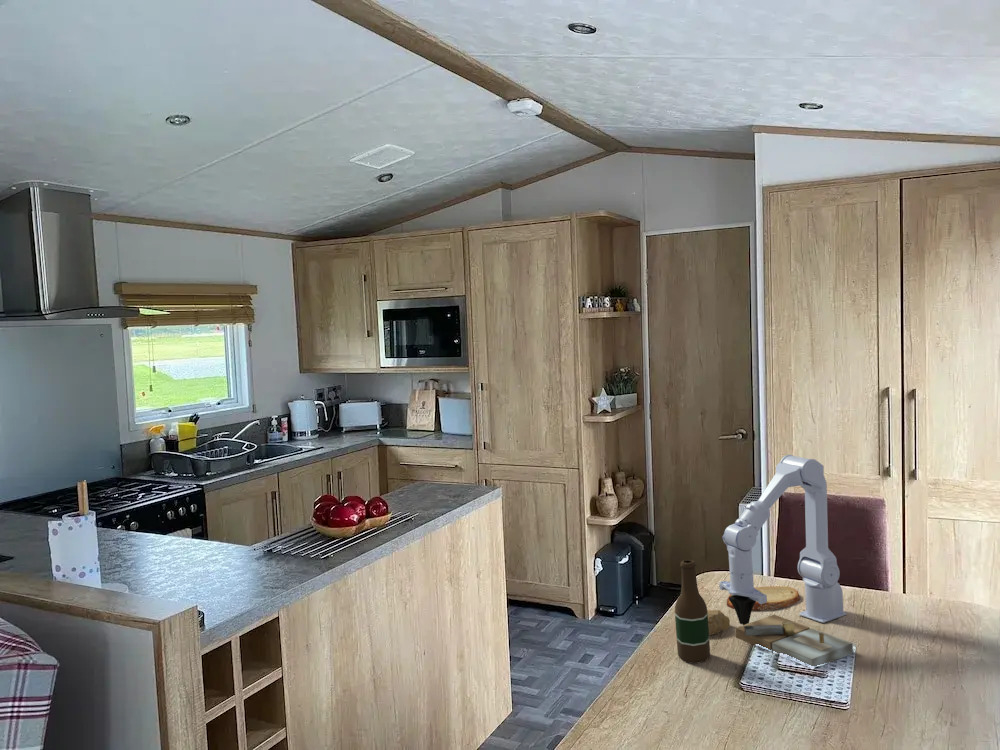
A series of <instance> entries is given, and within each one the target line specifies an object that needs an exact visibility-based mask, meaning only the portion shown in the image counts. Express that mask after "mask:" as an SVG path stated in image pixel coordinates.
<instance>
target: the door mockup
mask: <svg viewBox="0 0 1000 750" xmlns="http://www.w3.org/2000/svg"><path fill="white" fill-rule="evenodd" d="M785 621H789V622H793V623H794V633H795V634H794V635H793V636H786V635H783V634H771V635H746V634H745V632H744V626H759V625H782V622H785ZM735 638H736V639H739V640H741V641H743V642H745V643H748V644H751V645H752V646H755V644H759V645H761V646H763V647H766V648H768V649H770V650H771V649H772V651H775V652H777V653H783V654H787V655H789V656H791V657H794V658H796V659H798V660H800V661H802V662H804V663H807V664H809V665H811V666H817V665H820V664H824V663H828V664H830V663H832V661H833V662H835V661H838V660H840V659H842V658H845V657H848V656H850V655H852V654H854V648H853V642H852V641H851V642H850V641H847V640H845V639H842V638H840V637H836V636H833V635H832V634H828V633H826V632H823V631H820V630H817V629H815V628H812V627H809V626H807V625H804V624H802V623H801V624H800V623H798V622H796V621H793V620H789V619H787V618H785V617H782V616H779V615H776V614H772V615H768V616H766V617H763V618H761V619H758V620H755V621H752V622H751V621H750V622H749V623H748V624H745V625H740V626H737V627H735ZM829 662H830V663H829Z"/></svg>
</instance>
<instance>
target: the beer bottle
mask: <svg viewBox="0 0 1000 750" xmlns="http://www.w3.org/2000/svg"><path fill="white" fill-rule="evenodd" d="M696 566H697V564H696V561H695V560H692V559H684V560H682V561H680V565H679V567H681V588H680V589H681V590H680V594H679V595H678V598H677V599H676V603H675V604H674V619H675V633H676V634H675V635H676V647H677V648H676V649H677V656H678V657H679V659H681V660H682V661H683V662H684V661H686V662H685V663H690V662H691V664H698V663H699V662H700V663H704V662H706V661H708V660H709V658H710V656H711V645H710V642H711V641H710V636H709V627H708V612H707V610H708V607H707V604H706V602H705V599H704V598H703V597H702V595H701V593H700V592H699V588H698V581H697V575H696V574H697V573H696Z"/></svg>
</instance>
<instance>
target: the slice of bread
mask: <svg viewBox="0 0 1000 750" xmlns="http://www.w3.org/2000/svg"><path fill="white" fill-rule="evenodd" d="M754 588H755V589H757V590H758V591H760V592H761V593H763V594H765V595H767V603H764V604H759V602H757V601H756V602H755V604H754V606H753V609H752V612H762V611H772V610H778V609H781V608H787V607H790V606H792V605H795V604H797V603H798V602H799V601H801V597H800V593H799V591H797V590H796V589H795V588H793V587H790V586H785V585H784V586H781V585H778V586H777V585H776V586H774V585H773V586H772V585H771V586H770V585H769V586H767V585H766V586H758V587H754ZM730 596H732V595H731V594H729V595H728V597H727V599H726V607H727V608H730V609H732V610H735V609H734V607H733V605H732V603H731V602H730V600H729V597H730Z"/></svg>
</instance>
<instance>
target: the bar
mask: <svg viewBox="0 0 1000 750" xmlns="http://www.w3.org/2000/svg"><path fill="white" fill-rule="evenodd" d="M793 622H794V621H793ZM793 622H789V621H785V622H782V625H759V626H744V632H745V634H746V635H771V634H783V635H786V636H793V635H794V634H795V633H794V623H793Z"/></svg>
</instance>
